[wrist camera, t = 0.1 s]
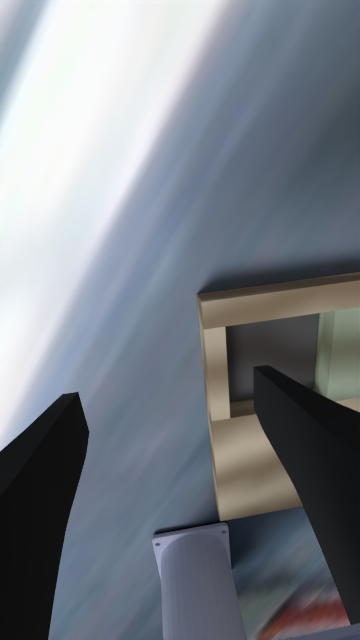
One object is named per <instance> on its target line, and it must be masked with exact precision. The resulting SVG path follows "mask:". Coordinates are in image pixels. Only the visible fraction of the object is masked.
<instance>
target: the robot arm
mask: <svg viewBox="0 0 360 640" xmlns="http://www.w3.org/2000/svg"><path fill="white" fill-rule="evenodd" d="M253 394H254V410H255V412H256V415H257V417H258V420H259V422H260V425H261V427H262V429H263V431H264V433H265V435H266V437H267V438H268V440H269V442H270V444H271V446H272V447H273V449H274V451H275V453H276V454H277V456H278V458H279V460H280V462H281V463H282V465H283V467H284V469H285V470H286V472H287V474H288V476H289V478H290V479H291V481H292V483H293V485H294V487H295V489H296V491H297V494H298V496H299V498H300V500H301V503H302V505H303V507H304V509H305V512H306V514H307V516H308V518H309V521H310V523H311V525H312V528H313V530H314V533H315V535H316V537H317V540H318V542H319V544H320V547H321V549H322V552H323V554H324V557H325V559H326V562H327V564H328V567H329V569H330V572H331V574H332V577H333V579H334V582H335V584H336V587H337V589H338V592H339V595H340V597H341V600H342V603H343V605H344V608H345V610H346V613H347V616H348V618H349V621H350V624H351V625H349V626H344V627H339V628H334V629H329V630H324V631H319V632H314V633H310V634H305V635H300V636H295V637H290V638H285V639H280V640H360V412H358V411H355V410H353V409H351V408H348V407H346V406H343V405H341V404H339V403H337V402H335V401H333V400H331V399H329V398H327V397H325V396H323V395H321V394H319V393H317V392H315V391H313V390H311V389H309V388H307V387H306V386H304V385H302V384H300V383H298V382H297V381H295V380H293V379H292V378H290V377H288V376H286V375H285V374H283V373H281V372H280V371H278V370H276V369H274V368H273V367H271V366H269V365H264V366H257V367H253ZM88 438H89V430H88V426H87V422H86V419H85V415H84V411H83V408H82V404H81V401H80V397H79V393H78V392H75V393H68V394H63V395H61V396H60V397H59V398H58V399H57V400H56V401H55V402H54V403H53V404H52V405H50V406H49V407H48V408H47V409H46V410H45V411H44V412H43V413H42V414H41V415H40V416H39V417H38V418H37V419H36V420H35V421H34V422H33V423H32V424H31V425H30V426H29V427H28V428H26V429H25V430H24V431H23V432H22V433H21V434H20V435H19V436H17V437H16V438H15V439H14V440H13V441H12V442H11V443H9V444H8V445H7V446H6V447H5V448H4V449H3V450H1V451H0V640H48V636H49V629H50V622H51V615H52V608H53V601H54V595H55V589H56V582H57V576H58V570H59V564H60V558H61V553H62V548H63V542H64V537H65V531H66V527H67V523H68V519H69V515H70V511H71V507H72V504H73V500H74V497H75V493H76V490H77V486H78V483H79V479H80V476H81V472H82V469H83V465H84V461H85V457H86V452H87V445H88ZM152 543H153V548H154V552H155V556H156V561H157V565H158V569H159V574H160V578H161V589H162V617H163V640H247V637H246V633H245V628H244V624H243V620H242V615H241V611H240V607H239V602H238V598H237V594H236V589H235V585H234V581H233V576H232V572H231V559H230V544H229V530H228V525H227V523H225V522H222V523H216V524H211V525H205V526H200V527H194V528H189V529H184V530H178V531H173V532H167V533H162V534H156V535H154V536H153V537H152Z"/></svg>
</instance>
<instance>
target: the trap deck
mask: <svg viewBox="0 0 360 640" xmlns="http://www.w3.org/2000/svg"><path fill="white" fill-rule="evenodd" d="M197 302H198V313H199V324H200V335H201V346H202V357H203V368H204V379H205V390H206V401H207V412H208V423H209V434H210V445H211V456H212V467H213V478H214V489H215V500H216V505H217V509H218V514H219V518H220V521H225V520H231V519H236V518H242V517H247V516H252V515H258V514H263V513H269V512H274V511H280V510H285V509H291V508H296V507H301V506H303V505H302V503H301V500H300V498H299V496H298V494H297V491H296V489H295V487H294V485H293V483H292V481H291V479H290V478H289V476H288V474H287V472H286V470H285V469H284V467H283V465H282V463H281V462H280V460H279V458H278V456H277V454H276V453H275V451H274V449H273V447H272V446H271V444H270V442H269V440H268V438H267V437H266V435H265V433H264V431H263V429H262V427H261V425H260V422H259V420H258V417H257V415H256V412H255V410H254V394H253V367H257V366H264V365H269V366H271V367H273V368H274V369H276V370H278V371H280V372H281V373H283V374H285V375H286V376H288V377H290V378H292V379H293V380H295V381H297V382H298V383H300V384H302V385H304V386H306V387H307V388H309V389H311V390H313V391H315V392H317V393H319V394H321V395H323V396H325V397H327V398H329V399H331V400H333V401H335V402H337V403H339V404H341V405H343V406H346V407H348V408H351V409H353V410H355V411H358V412H360V272H354V273H347V274H339V275H332V276H325V277H317V278H310V279H303V280H295V281H288V282H281V283H273V284H266V285H259V286H251V287H244V288H237V289H229V290H222V291H215V292H207V293H200V294H197ZM318 317H319V319H318ZM317 330H318V333H317ZM316 343H317V346H316ZM315 356H316V359H315ZM314 369H315V372H314ZM313 382H314V385H313Z"/></svg>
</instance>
